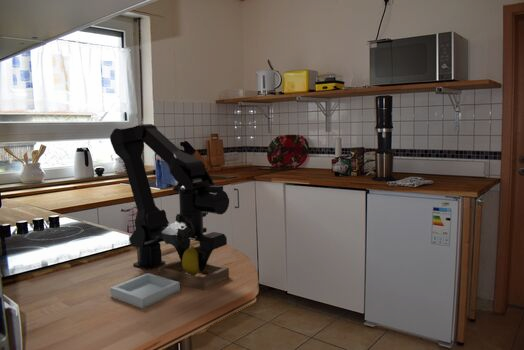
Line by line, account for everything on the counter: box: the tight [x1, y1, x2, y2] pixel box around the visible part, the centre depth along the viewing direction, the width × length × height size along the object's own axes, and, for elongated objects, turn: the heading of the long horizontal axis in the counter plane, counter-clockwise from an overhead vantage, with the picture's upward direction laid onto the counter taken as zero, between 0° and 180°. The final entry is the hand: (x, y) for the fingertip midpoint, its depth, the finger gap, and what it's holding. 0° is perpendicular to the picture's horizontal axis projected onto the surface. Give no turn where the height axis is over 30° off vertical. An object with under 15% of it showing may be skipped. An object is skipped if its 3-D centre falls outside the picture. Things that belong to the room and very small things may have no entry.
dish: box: [109, 272, 181, 309], centre depth 102 cm, size 11×11×2 cm
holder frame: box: [157, 259, 230, 291], centre depth 113 cm, size 15×10×2 cm, turn 55°
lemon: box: [182, 245, 201, 276], centre depth 112 cm, size 6×6×8 cm
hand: (193, 268), depth 113 cm, fingers closed on lemon, 5 cm apart
